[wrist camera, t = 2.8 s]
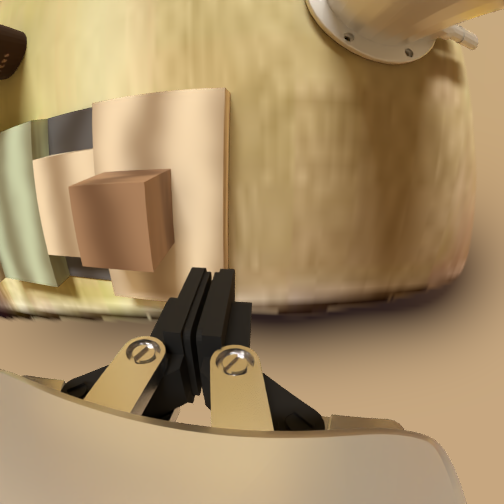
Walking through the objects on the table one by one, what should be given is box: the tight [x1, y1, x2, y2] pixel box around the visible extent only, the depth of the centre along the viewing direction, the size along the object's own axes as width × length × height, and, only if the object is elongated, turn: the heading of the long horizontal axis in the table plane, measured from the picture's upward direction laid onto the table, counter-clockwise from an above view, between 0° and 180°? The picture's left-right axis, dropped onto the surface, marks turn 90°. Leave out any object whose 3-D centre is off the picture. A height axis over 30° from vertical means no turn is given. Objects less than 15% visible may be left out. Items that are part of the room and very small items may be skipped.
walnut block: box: [68, 169, 175, 272], centre depth 19 cm, size 6×6×5 cm
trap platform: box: [0, 88, 230, 302], centre depth 21 cm, size 31×18×7 cm, turn 88°
